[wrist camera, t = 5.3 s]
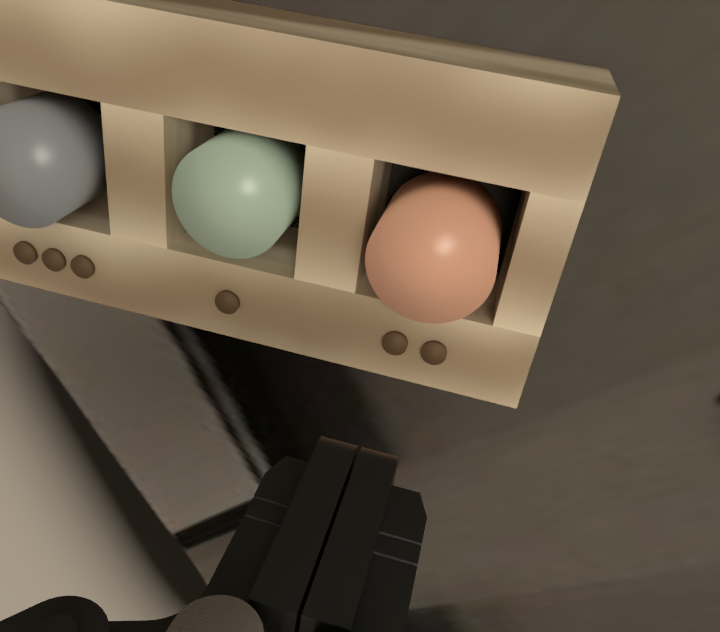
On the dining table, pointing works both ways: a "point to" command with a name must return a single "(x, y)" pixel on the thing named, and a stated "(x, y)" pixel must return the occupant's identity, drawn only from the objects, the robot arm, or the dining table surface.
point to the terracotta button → (435, 248)
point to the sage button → (239, 192)
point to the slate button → (49, 158)
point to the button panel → (306, 173)
